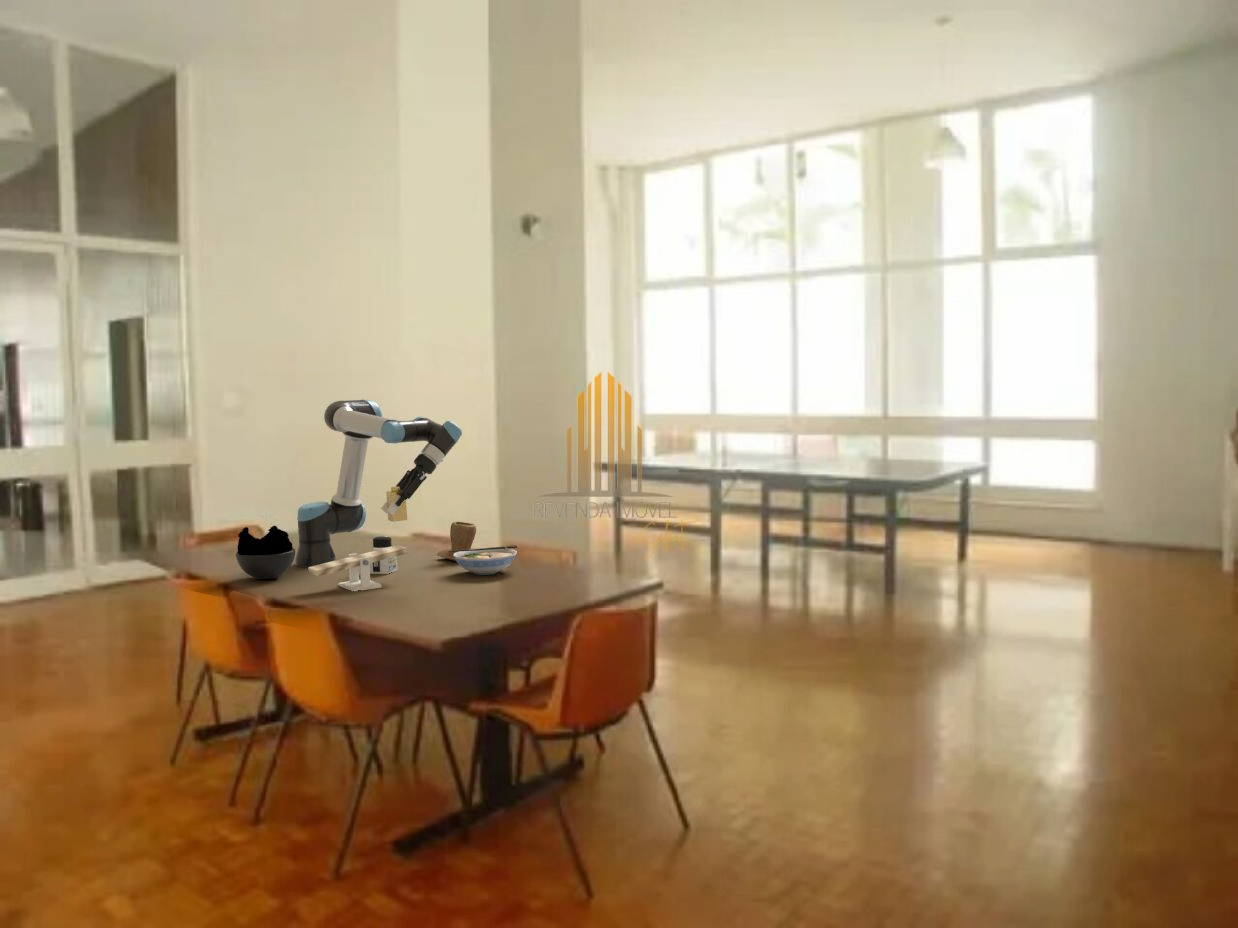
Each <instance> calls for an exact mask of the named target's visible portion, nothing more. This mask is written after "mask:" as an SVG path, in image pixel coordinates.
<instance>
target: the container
mask: <svg viewBox="0 0 1238 928" xmlns="http://www.w3.org/2000/svg"><path fill="white" fill-rule="evenodd" d="M388 547H392V538H391V536H387V535H381V536H376V537H373V538H372V548H373V551H376V550H380V549H384V548H388ZM397 571H398V556H396V557H392V558H388V559H384V560H380V561H377V562H373V563H370V575H375V574H376V575H390V574H392V573H394V572H397ZM391 572H392V573H391ZM389 573H390V574H389Z"/></svg>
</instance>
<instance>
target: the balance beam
mask: <svg viewBox="0 0 1238 928" xmlns="http://www.w3.org/2000/svg"><path fill="white" fill-rule="evenodd" d="M403 555H408V548H407V547H404V546H401V545H398V544H397V545H393V546H392V547H388V548H384V549H380V550H376V551H374V550H372V551H369V552H365V553H361V554H358V555H356V556H352V557H345V558H341V559H336V561H332V562H328V563H324V564H320V565H316V566H312V567H307V569H308V573H309V574H310V575H313V576H315V577H322V576H325V575H330V574H333V573H338V572H342V571H345V570H349V568H353V567H357V566H358V567H360V558H365V557H369V562H370V563H373V562H377V561H380V560H384V559H388V558H392V557H396V556H397V557H399V556H403Z"/></svg>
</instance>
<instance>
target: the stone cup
mask: <svg viewBox="0 0 1238 928" xmlns="http://www.w3.org/2000/svg"><path fill="white" fill-rule="evenodd" d="M476 533H477V526H476V524H474V523H472V522H471V523H470V522H464V521H456V520H454V521H453V522H452V523H451V524H450V531H449V536H450V537H449V538H450V545H451V548H450V549H448V548H447V549H444V550H440V551H438V552H436V555H437V556H438V557H440V558H443V559H447V560H451V561H456V560H455V558H454V556H453V555H454V553H456V552H449V551H460V550H469V549H472V545H473V543H474V540H475V538H476ZM456 562H457V561H456Z"/></svg>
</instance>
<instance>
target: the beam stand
mask: <svg viewBox="0 0 1238 928" xmlns="http://www.w3.org/2000/svg"><path fill="white" fill-rule="evenodd" d="M356 555H359V553H350V554H347V556H348V557H352V556H356ZM348 557H347V558H348ZM348 577H349V578H348V581H342V582H338V586H339V587H341V588H343V589H346V590H349V591H350V590H351V591H350V592H353V591H354V592H358V590H361V591H365V590H366V591H367V590H373V589H380V588H382V584H381V583H379V582H377V581H373V580H371V574H370V562H369V557H365V558H360V566H357V567H353V568H349V569H348Z"/></svg>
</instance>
